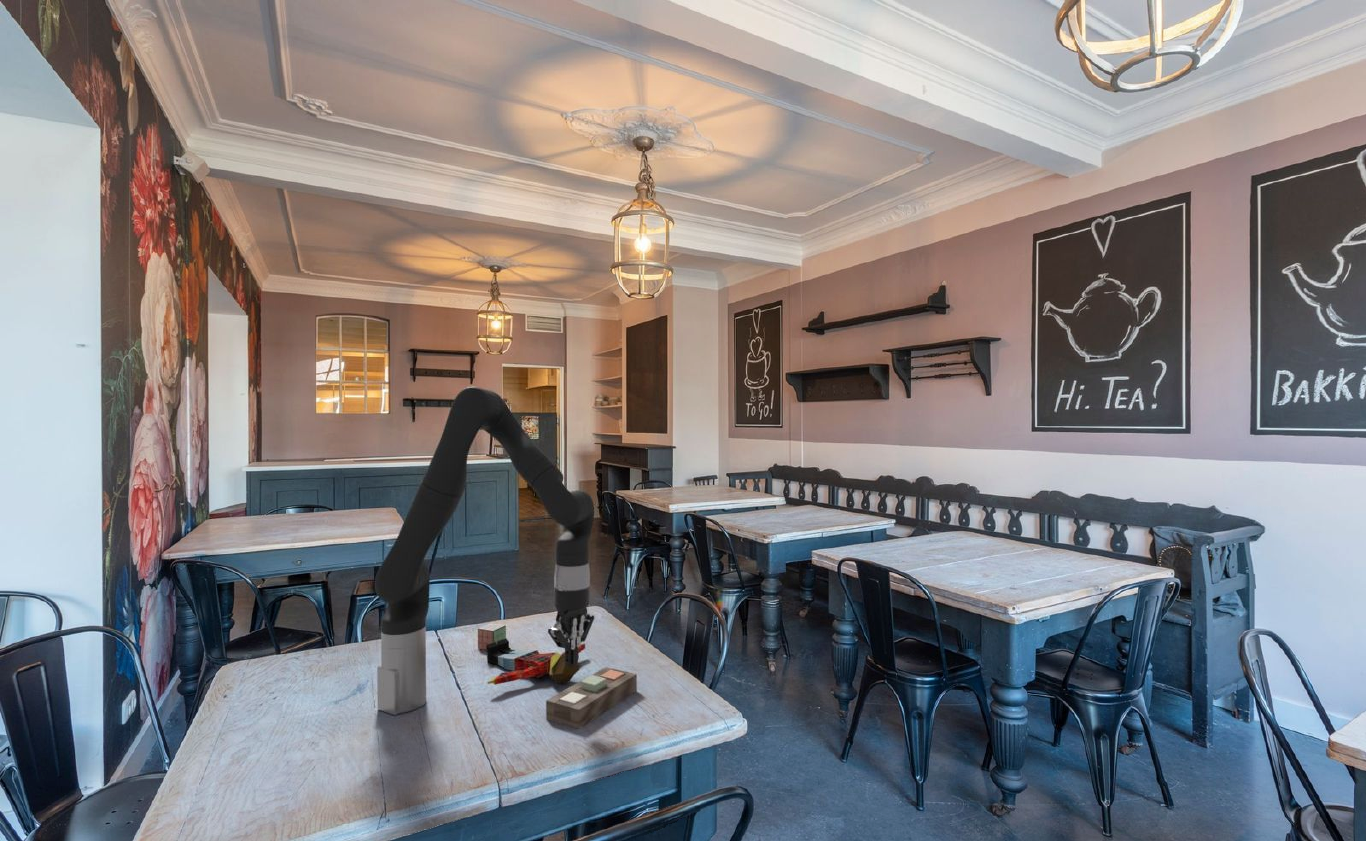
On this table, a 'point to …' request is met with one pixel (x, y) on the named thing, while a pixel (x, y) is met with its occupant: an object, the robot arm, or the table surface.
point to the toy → (528, 663)
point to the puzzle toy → (490, 634)
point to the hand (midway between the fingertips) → (571, 664)
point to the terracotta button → (612, 675)
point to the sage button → (593, 683)
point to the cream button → (573, 698)
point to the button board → (590, 700)
